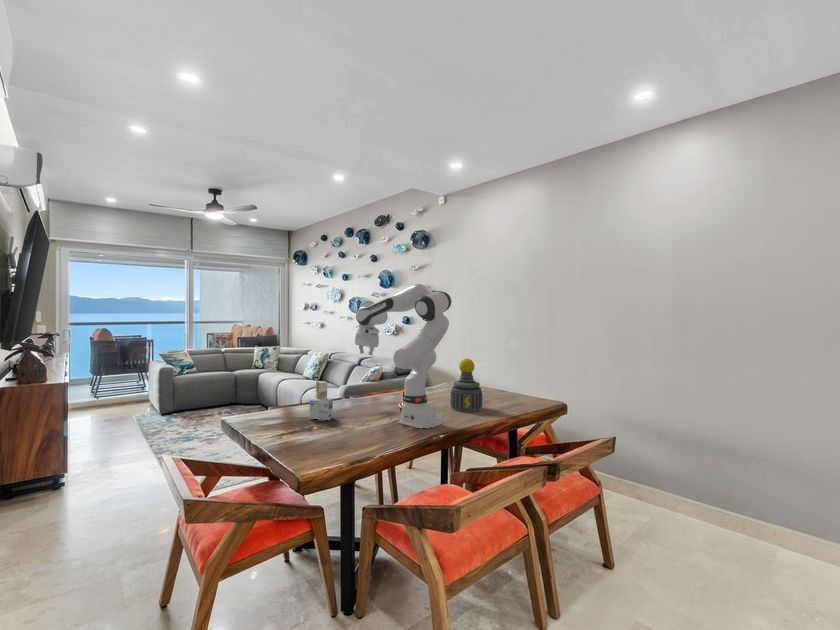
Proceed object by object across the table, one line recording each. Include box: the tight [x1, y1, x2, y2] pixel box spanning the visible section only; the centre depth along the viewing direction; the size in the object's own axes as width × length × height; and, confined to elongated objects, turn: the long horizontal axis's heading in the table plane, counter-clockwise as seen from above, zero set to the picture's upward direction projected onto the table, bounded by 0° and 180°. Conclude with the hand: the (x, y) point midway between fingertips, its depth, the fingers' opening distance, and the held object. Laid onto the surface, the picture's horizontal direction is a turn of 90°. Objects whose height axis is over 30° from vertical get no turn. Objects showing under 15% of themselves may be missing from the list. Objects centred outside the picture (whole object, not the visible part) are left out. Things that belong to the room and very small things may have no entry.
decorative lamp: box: [449, 358, 484, 413], centre depth 251 cm, size 19×19×30 cm
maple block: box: [315, 380, 328, 400], centre depth 223 cm, size 5×4×9 cm
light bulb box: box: [309, 397, 334, 421], centre depth 224 cm, size 11×7×11 cm, turn 83°
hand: (366, 354), depth 238 cm, fingers open, 8 cm apart
